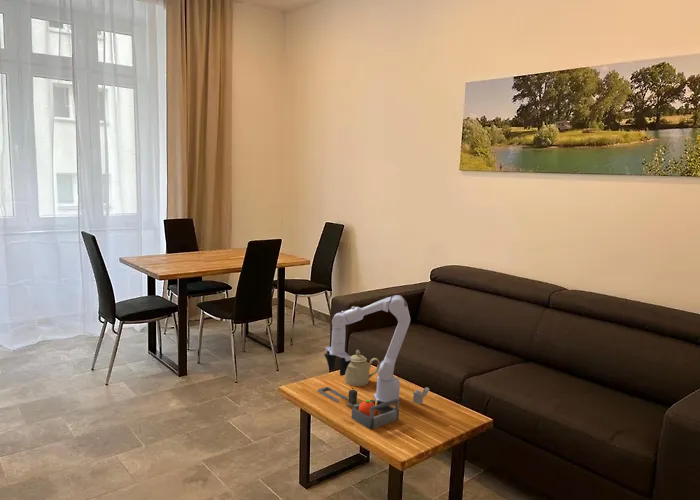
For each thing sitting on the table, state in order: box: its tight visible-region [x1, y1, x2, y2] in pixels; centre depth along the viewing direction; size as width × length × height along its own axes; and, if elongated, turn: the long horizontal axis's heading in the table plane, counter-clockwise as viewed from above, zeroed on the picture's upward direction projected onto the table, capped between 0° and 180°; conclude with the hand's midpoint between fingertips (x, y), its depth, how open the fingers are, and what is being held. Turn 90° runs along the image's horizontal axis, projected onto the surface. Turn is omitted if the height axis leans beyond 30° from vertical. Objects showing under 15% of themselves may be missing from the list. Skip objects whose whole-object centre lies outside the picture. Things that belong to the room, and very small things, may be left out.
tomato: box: [358, 399, 377, 416], centre depth 210 cm, size 8×7×7 cm
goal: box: [350, 398, 401, 430], centre depth 209 cm, size 11×15×8 cm
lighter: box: [412, 386, 430, 405], centre depth 226 cm, size 7×2×8 cm, turn 42°
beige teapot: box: [344, 349, 381, 387], centre depth 247 cm, size 15×11×15 cm
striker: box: [346, 389, 376, 409], centre depth 217 cm, size 10×10×6 cm
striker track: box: [317, 386, 348, 403], centre depth 230 cm, size 13×5×1 cm, turn 40°
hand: (336, 372), depth 231 cm, fingers open, 7 cm apart
